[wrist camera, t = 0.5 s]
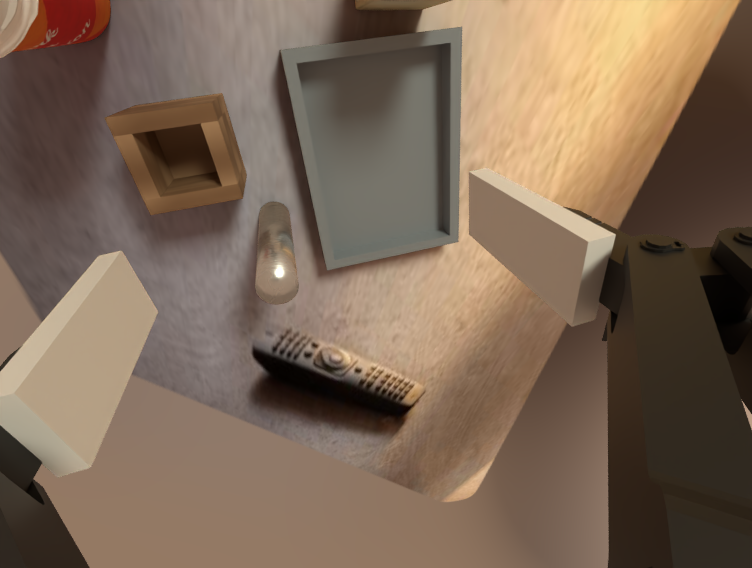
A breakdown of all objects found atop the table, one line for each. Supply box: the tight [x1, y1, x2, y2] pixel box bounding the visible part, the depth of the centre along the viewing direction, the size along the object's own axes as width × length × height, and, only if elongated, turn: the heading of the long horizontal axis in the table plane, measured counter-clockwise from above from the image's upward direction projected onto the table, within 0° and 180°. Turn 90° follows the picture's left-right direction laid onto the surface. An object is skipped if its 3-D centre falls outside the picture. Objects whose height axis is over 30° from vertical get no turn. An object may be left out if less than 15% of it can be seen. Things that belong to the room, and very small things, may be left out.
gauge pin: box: [255, 202, 299, 304], centre depth 32 cm, size 3×3×14 cm
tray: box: [280, 27, 462, 270], centre depth 36 cm, size 20×15×3 cm
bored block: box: [105, 93, 247, 215], centre depth 30 cm, size 7×7×7 cm
